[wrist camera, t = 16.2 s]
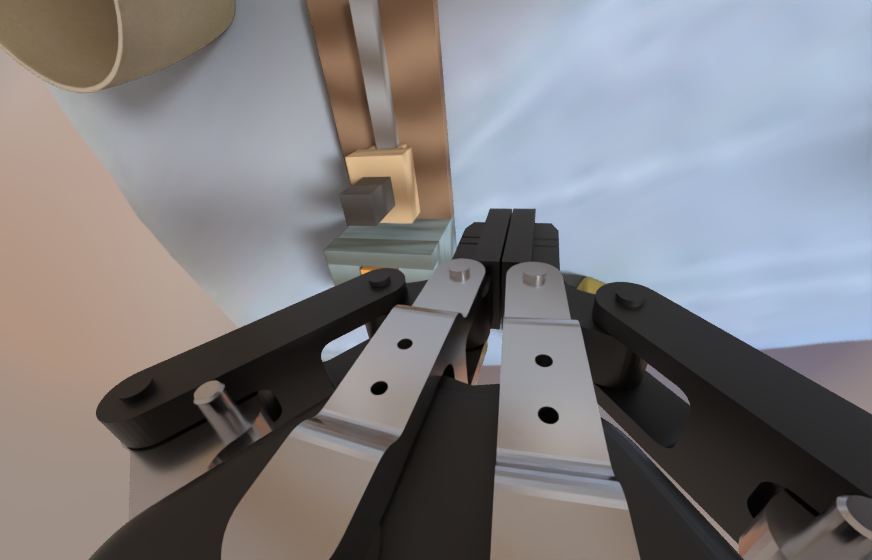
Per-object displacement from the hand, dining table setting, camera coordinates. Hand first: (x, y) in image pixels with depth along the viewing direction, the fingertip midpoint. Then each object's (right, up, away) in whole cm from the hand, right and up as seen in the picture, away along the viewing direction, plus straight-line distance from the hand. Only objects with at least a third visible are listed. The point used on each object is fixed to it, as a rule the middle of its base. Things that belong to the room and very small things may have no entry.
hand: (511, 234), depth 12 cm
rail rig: (-7, +13, +28) cm, 31 cm away
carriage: (-7, +10, +27) cm, 30 cm away
